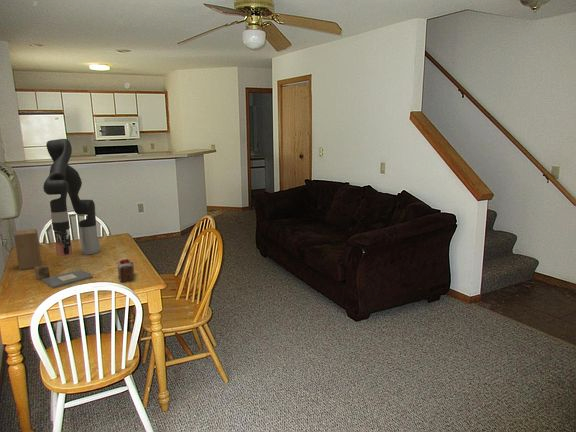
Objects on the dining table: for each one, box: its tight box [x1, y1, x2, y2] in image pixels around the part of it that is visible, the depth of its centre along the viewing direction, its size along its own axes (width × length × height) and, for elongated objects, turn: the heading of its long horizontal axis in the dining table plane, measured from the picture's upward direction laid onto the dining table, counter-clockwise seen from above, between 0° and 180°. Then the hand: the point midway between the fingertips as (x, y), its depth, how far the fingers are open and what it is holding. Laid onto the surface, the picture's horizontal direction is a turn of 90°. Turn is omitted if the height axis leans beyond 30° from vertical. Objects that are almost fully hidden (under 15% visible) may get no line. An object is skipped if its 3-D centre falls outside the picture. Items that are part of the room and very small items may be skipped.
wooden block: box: [13, 228, 42, 271], centre depth 229 cm, size 10×10×20 cm
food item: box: [117, 258, 135, 283], centre depth 211 cm, size 14×8×10 cm, turn 26°
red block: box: [54, 241, 73, 258], centre depth 207 cm, size 6×6×6 cm
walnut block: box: [33, 264, 51, 281], centre depth 212 cm, size 5×5×6 cm
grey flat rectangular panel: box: [41, 269, 94, 289], centre depth 210 cm, size 19×15×1 cm
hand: (64, 252), depth 207 cm, fingers closed on red block, 5 cm apart
